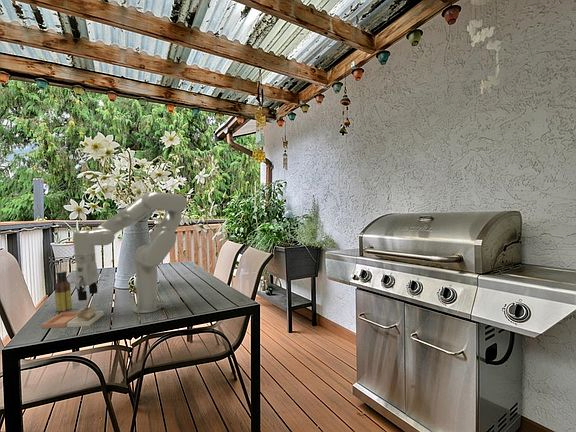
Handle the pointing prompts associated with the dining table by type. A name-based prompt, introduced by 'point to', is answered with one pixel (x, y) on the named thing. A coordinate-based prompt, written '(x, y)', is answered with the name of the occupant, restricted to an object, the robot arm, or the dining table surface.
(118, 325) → the dining table surface
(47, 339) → the dining table surface
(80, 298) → the robot arm
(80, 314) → the letter cube
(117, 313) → the dining table surface
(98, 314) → the tray
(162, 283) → the dining table surface
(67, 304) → the sauce bottle
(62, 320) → the tray
